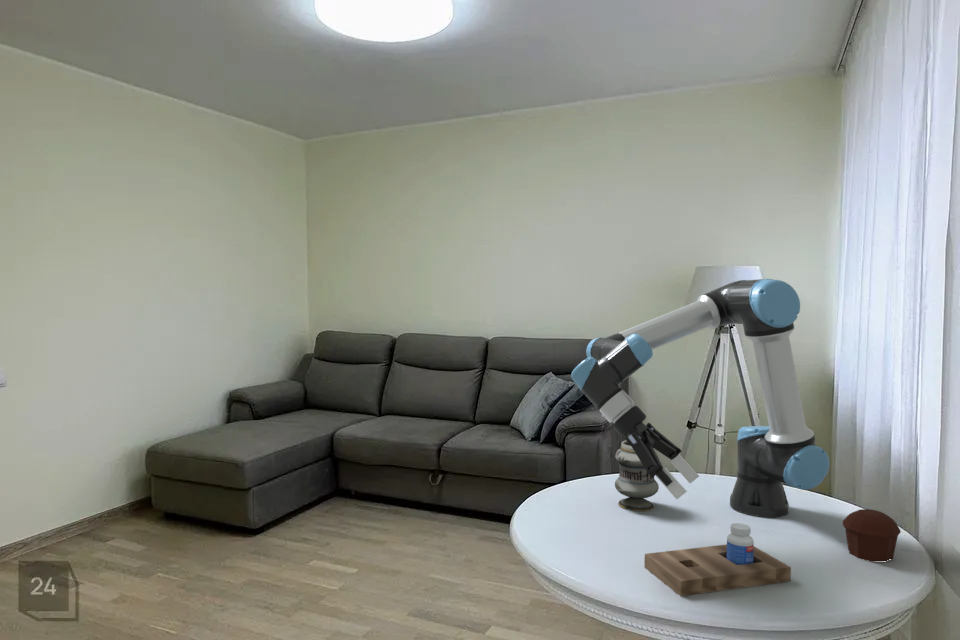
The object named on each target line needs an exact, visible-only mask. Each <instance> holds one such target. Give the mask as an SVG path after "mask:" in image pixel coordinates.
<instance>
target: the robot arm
mask: <svg viewBox="0 0 960 640" xmlns="http://www.w3.org/2000/svg"><path fill="white" fill-rule="evenodd" d="M800 312H801V299H800V297H799V294H798V293H797V291H796V290H795V289H794V287H792V286H791V284H789V283H787V282H786V281H783V280H778V279H772V278H759V279H749V280H748V279H747V280H746V279H741V280H736V281H733V282H729V283H728V284H725V285H723V286H719V287H718V288H716V289H713V290H711V291H709V292H706V293H704V294H701V295H699V296H698V298H697V300H696V301H694V302H692V303H689V304H686V305H683V306H682V307H680V308H677V309H674V310H671V311H669V312H666V313H664V314H661V315H659V316H657V317H654V318H652V319H649V320H646V321H644V322H642V323H639V324H637V325H634V326H632V327H630V328H627V329H625V330H622V331H619V332H617V333H613V334H612V335H609V336H606V337H596V338H594V339H592V340H590V342H588V344H587V346H586V348H585V349H586V350H585V353H586V357H587V358H585V359H583V360H581V362H580V363H578V364H577V366H575V367H574V369H573V370H572V372H571V374H570V378H571V379H572V382H574V384H575V385H576V386H577V388H578V389H579V391H580V392H582V393H583V394H584V395H585V397H586V398H587V399H588V400H589V401H590V402H591V403H592V405H593V406H594V407H595V408H596V409H597V410H598V411H599V412H600V413H601V417H602V418H605V419H606V420H607V422H608V423H610V424H612V428H613V429H614V430H615V431H616V432H617V433H618V435H620V436H621V437H623V438H624V437H626V436H628V435H629V436H628V437H627V438H626V439H625V441H626V440H627V442H628V443H629V444H630V445H631V447H632V448H633V450H634V451H635V453H636V455H637V456H638V458H639V459H640V461H641V463H642V464H643V466H644V468H645V469H646V471H647V472H648V474H649V475H650V476H651V477H652V478H653V477H654V478H655V477H656V478H657V479H658V481H660V482H661V484H662V485H663V486H664V487H665V488H666V489H667V490H668V491H669V493H670V494H671V495H672V496H673V497H674V498H675V500H679V499H680V498H681V497H682V496H683V495H685V494H686V493H687V492H688V490H686V489H685V487H684V486H683V485H682V484H681V483H680V482H679V481H678V480H677V479H676V478H675V476H674V475H673V473H671V471H670V470H668V468H667V467H663V464H662V463H661V460H660V459H659V456H658V457H657V455H658V454H657V455H656V453H657V451H658V452H659V453H660V454H662V455H663V456H665V457H666V458H667V459H670V463H671V464H672V465H673V466H674V467H675V469H676V470H677V471H678V472H679V473H680V475H682V476H683V478H684V479H685V480H686V481H687V482H688V483H689V484H691V483H693V482H694V481H695V480H697V479H698V478H700V475H699V474H698V473H697V472H696V470H695V469H694V468H693V467H692V466H691V465H690V464H689V463H688V462H687V461H686V460H685V459H684V458H683V456H682V455H681V453H682V450H681V448H680V447H679V446H677V445H676V444H674V443H673V442H672V441H671V440H670V439H668V438H667V437H666V436H665V435H664V434H662V433H661V432H660V431H658V430H657V429H656V428H655V427H654V426H653V425H652V423H651V422H647V423H646V424H644V421H645V420H646V418H647V415H646V414H645V412H644V411H643V410H641V408H640V406H637V405H634V404H635V401H634V400H633V399H632V398H631V397H630V396H629V395H628V394H627V392H626V391H625V390H624V389H623V388H622V387H621V386H620V384H622V383H623V382H624V381H625V380H627V379H628V378H629V377H630V376H632V375H633V374H634V373H635V372H637V371H638V370H639V369H641V368H642V367H644V366H645V365H646V363H648V362H649V360H651V359H652V358H653V354H654V352H653V350H655V349H657V348H660V347H662V346H663V347H664V345H668V344H670V343H673V342H675V341H677V340H680V339H684V337H687V336H690V335H693V334H695V333H697V332H700V331H702V330H704V329H707V328H710V329H716V328H719V327H722V326H726V325H734V324H735V325H737V324H738V325H742V327H743V332H744V336H745V338H747V339H749V341H751V342H752V346H753V350H754V355H755V361H756V366H757V370H758V375H759V381H760V385H761V387H760V388H761V391H762V396H763V403H764V408H765V412H766V418H767V423H768V425H749V426H743V427H740V428H739V429H738V433H737V439H736V442H737V455H736V456H737V457H736V459H737V460H736V462H737V468H736V469H737V470H736V473H737V474H736V480H735V483H734V486H733V489H732V492H731V494H730V496H729V506H730V508H731V509H733V510H735V511H737V512H739V513H743V514H745V515H749V516H753V517H754V516H755V517H761V518H762V517H764V518H777V517H778V518H779V517H784V516H787V515H789V512H790V511H789V509H790V504H789V501H788V498H787V495H786V494H787V493H786V491H785V487H784V484H786V485H787V486H788V487H790V488H796V489H799V490H806V491H807V490H812V489H815V488H816V487H817V486H819V485H821V484H822V482H823V481H824V479H825V477H827V475H828V472H829V470H830V458H829V455H828V453H827V452H826V451H825V450H824V449H823V448H822V447H821V446H818V445H817V442H816V438H815V432H814V430H812V429H810V428H809V427H808V426H807V424H806V419H805V414H804V409H803V404H802V398H801V392H800V388H799V382H798V378H797V377H798V376H797V372H796V366H795V361H794V355H793V349H792V344H791V339H790V336H791V334H792V333H793V331H794V330H795V324H794V322H795V321H796V320H797V319H798V317H799V316H798V314H800ZM655 450H656V451H655ZM655 452H656V453H655Z"/></svg>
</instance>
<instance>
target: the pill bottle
mask: <svg viewBox="0 0 960 640" xmlns="http://www.w3.org/2000/svg"><path fill="white" fill-rule="evenodd" d="M751 533H752V532H751V526H750V525H749V524H745V523H741V522H739V523H738V522H734V523H731V524H730V533H728V534H727V537H726V545H727V559H728V560H729V561H731V562H733V563H734V564H736V565H742V564H750V563H753V553H754V547H755V546H754V545H755V542H754V539H753V537H752V536H751Z"/></svg>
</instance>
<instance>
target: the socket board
mask: <svg viewBox="0 0 960 640" xmlns="http://www.w3.org/2000/svg"><path fill="white" fill-rule="evenodd" d="M644 569H646V570H647V569H648V570H649V571H648V570H647V571H648V572H650V573H651V574H652V573H653V574H654V575H653V574H652V575H653V576H655V577H656V578H657V579H658V580H660V581H661V582H662V583H664V585H666V586H667V587H669V588H670V589H671V590H672V591H673V592H675V593H676V594H677V595H679V597H684V596H690V595H691V596H692V595H698V594H706V593H713V592H720V591H727V590H734V589H735V590H736V589H737V590H738V589H742V588H750V587H757V586H765V585H772V584H780V583H781V584H782V583H787V582H791V580H792V579H791V578H792V577H791V576H792V570H791V569H792V567H791V566H790V565H788V564H787V563H784V562H783V561H781V560H779V559H777V558H775V557H773V556H772V555H770V554H769V553H766V552H765V551H763V550H761V549H759V548H757V547H756V546H754V553H753V563H750V564H742V565H736V564H734V563H733V562H731V561H729V560H728V559H727V544H719V545H708V546H701V547H693V548H692V547H691V548H684V549H676V550H675V549H674V550H667V551H666V550H665V551H657V552H648V553H644Z"/></svg>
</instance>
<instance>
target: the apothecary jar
mask: <svg viewBox="0 0 960 640" xmlns="http://www.w3.org/2000/svg"><path fill="white" fill-rule="evenodd" d="M655 453H656V455H657V457H658V458H659V454H658V453H657V451H655ZM614 457H615V459H616V461H617V462H618V463H619V470H618V471H619V472H618V473H619V474H618V477H617V478H616V480H615V482H614V487H615V490H616V491H617V492H618V493H620V494H621V495H622V496H625V497H626V498H622V499H620V500H619V501H618V503H617V504H618V506H619V507H620V506H621V507H620V508H622V509H624V508H625V509H626V510H630V511H633V510H634V511H635V512H647V510H649V511H652V510H653V509H654V508H655V505H654V503H653V502H651V501H650V500H647V499H648V498H651V497H653V496H655V495H656V494H657V493H658V492H659V487H660V486H659V483H658V481H657V480H656V479H655V476H654V477H653V478H652V477H651V476H650V475H649V474H648V472H647V471H646V469H645V468H644V466H643V464H642V463H641V461H640V459H639V458H638V456H637V455H636V453H635V451H634V450H633V448H632V447H631V445H630V444H629V443H628V442H627V440H626V439H625V440H623V441H621V445H620V448H619V449H617V451H616V452H615V456H614ZM625 509H624V510H625ZM651 509H652V510H651Z"/></svg>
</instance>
